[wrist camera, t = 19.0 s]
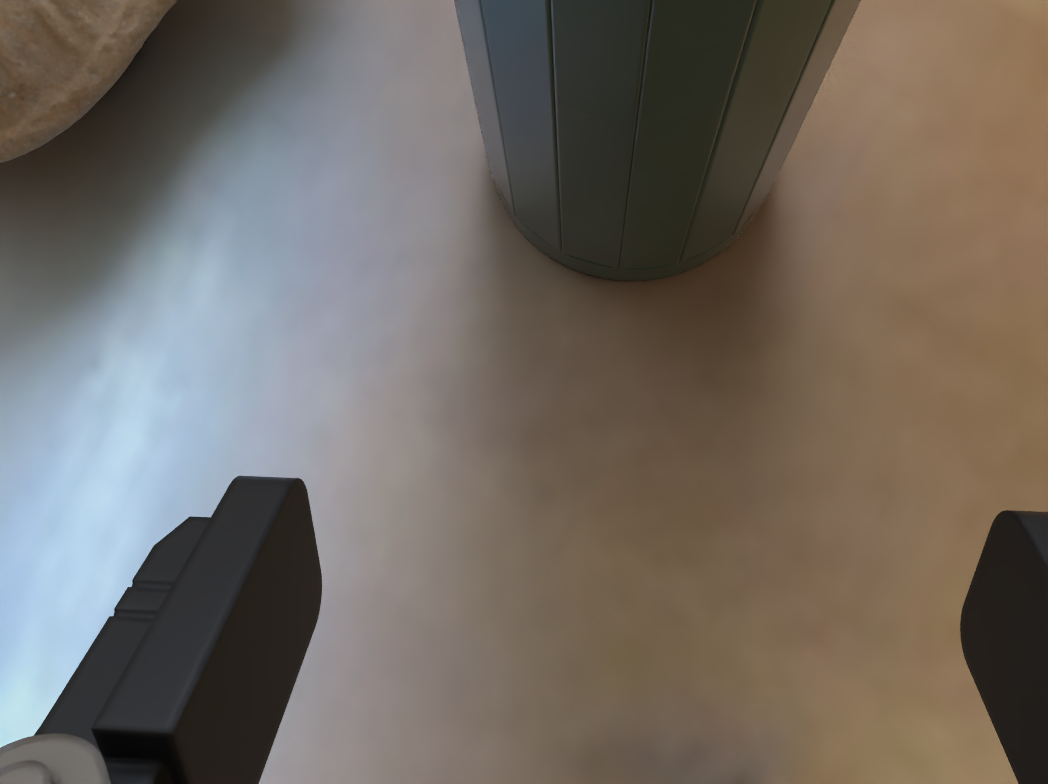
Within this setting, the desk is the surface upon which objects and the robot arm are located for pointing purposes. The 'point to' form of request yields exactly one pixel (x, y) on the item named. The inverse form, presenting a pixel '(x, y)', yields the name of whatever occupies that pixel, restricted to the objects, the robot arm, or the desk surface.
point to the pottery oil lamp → (63, 62)
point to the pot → (642, 119)
